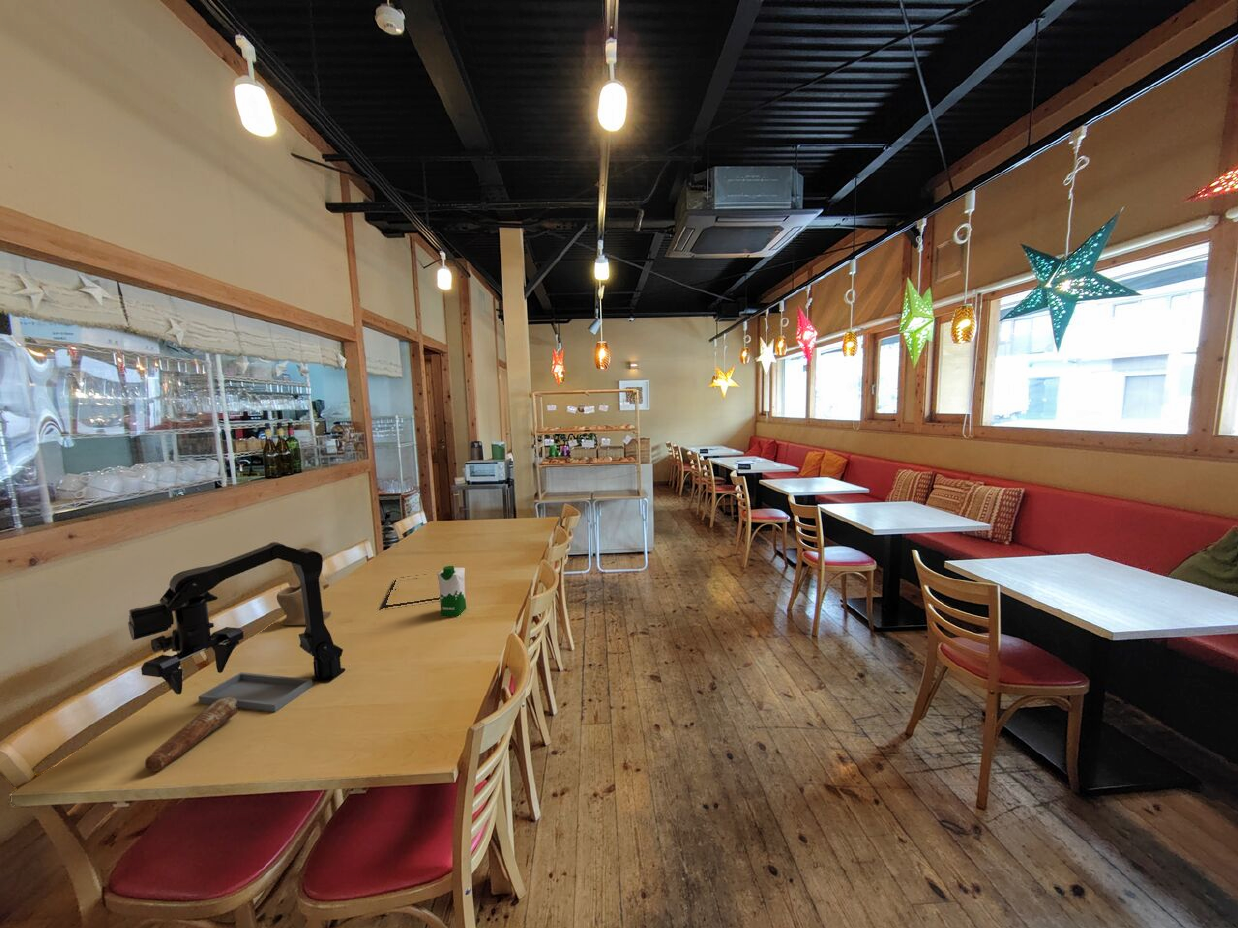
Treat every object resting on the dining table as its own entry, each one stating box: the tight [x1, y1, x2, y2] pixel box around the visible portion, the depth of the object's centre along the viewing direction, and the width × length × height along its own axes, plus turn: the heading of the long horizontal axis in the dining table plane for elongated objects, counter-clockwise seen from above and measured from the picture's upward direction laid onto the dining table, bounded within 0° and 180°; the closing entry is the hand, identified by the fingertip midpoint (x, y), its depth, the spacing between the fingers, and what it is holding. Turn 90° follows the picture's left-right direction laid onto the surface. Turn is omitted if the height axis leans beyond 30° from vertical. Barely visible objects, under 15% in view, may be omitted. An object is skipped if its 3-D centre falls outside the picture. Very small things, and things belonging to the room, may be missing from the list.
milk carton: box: [437, 565, 467, 617], centre depth 175 cm, size 9×9×20 cm
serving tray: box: [198, 671, 313, 713], centre depth 127 cm, size 25×12×2 cm, turn 80°
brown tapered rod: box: [144, 697, 239, 773], centre depth 108 cm, size 6×19×6 cm, turn 174°
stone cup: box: [276, 584, 332, 626], centre depth 171 cm, size 15×12×15 cm
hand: (200, 682), depth 111 cm, fingers open, 9 cm apart
